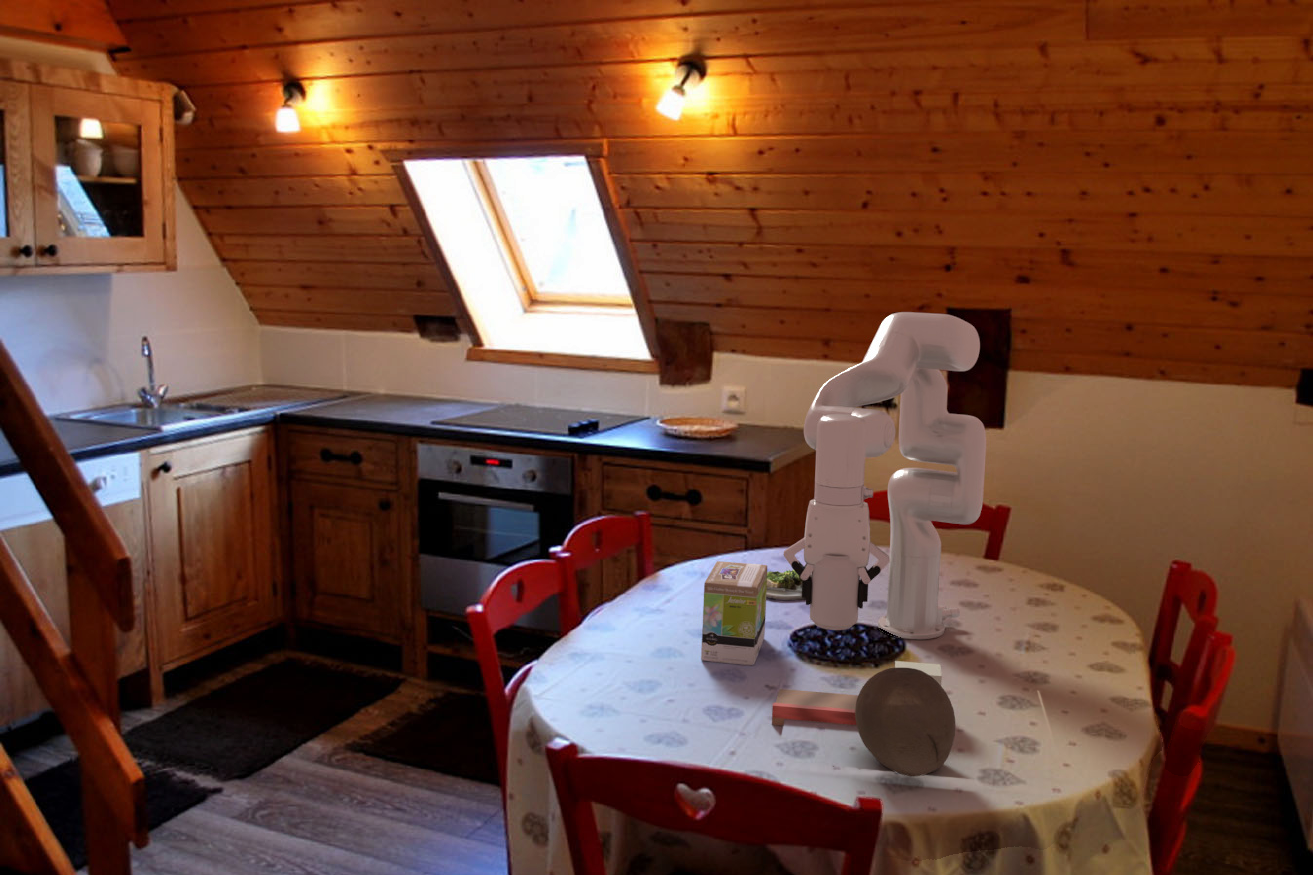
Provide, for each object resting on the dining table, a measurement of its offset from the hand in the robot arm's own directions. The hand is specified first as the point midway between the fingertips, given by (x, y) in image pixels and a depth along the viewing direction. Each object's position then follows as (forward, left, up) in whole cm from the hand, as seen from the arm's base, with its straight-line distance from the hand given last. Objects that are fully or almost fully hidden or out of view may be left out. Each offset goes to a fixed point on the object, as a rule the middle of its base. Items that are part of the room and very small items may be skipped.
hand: (834, 603), depth 192 cm
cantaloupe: (-1, +21, -19) cm, 28 cm away
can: (0, 0, -4) cm, 4 cm away
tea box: (+3, -32, -19) cm, 37 cm away
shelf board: (-4, +2, -18) cm, 19 cm away
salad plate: (-23, -61, -19) cm, 68 cm away
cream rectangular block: (-11, +8, -17) cm, 22 cm away
